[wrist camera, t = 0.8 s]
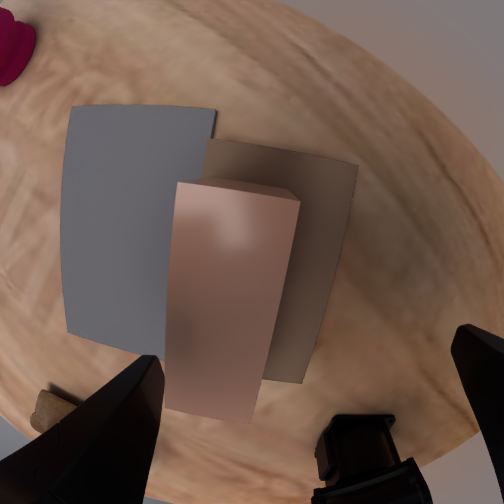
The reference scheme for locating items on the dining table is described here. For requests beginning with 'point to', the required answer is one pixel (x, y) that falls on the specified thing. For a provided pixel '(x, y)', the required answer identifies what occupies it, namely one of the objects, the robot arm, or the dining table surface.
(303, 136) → the dining table surface
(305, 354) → the ledge
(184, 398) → the salmon pink block
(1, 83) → the pepper mill
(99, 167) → the mat
